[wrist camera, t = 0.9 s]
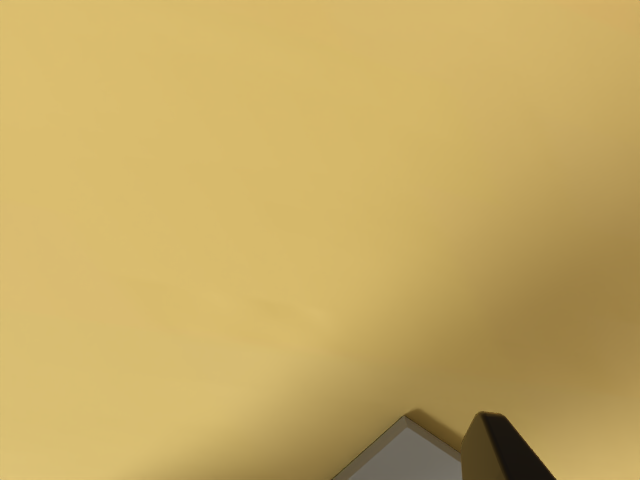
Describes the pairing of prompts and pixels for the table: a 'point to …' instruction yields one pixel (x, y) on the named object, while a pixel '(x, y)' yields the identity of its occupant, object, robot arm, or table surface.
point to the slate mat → (405, 457)
